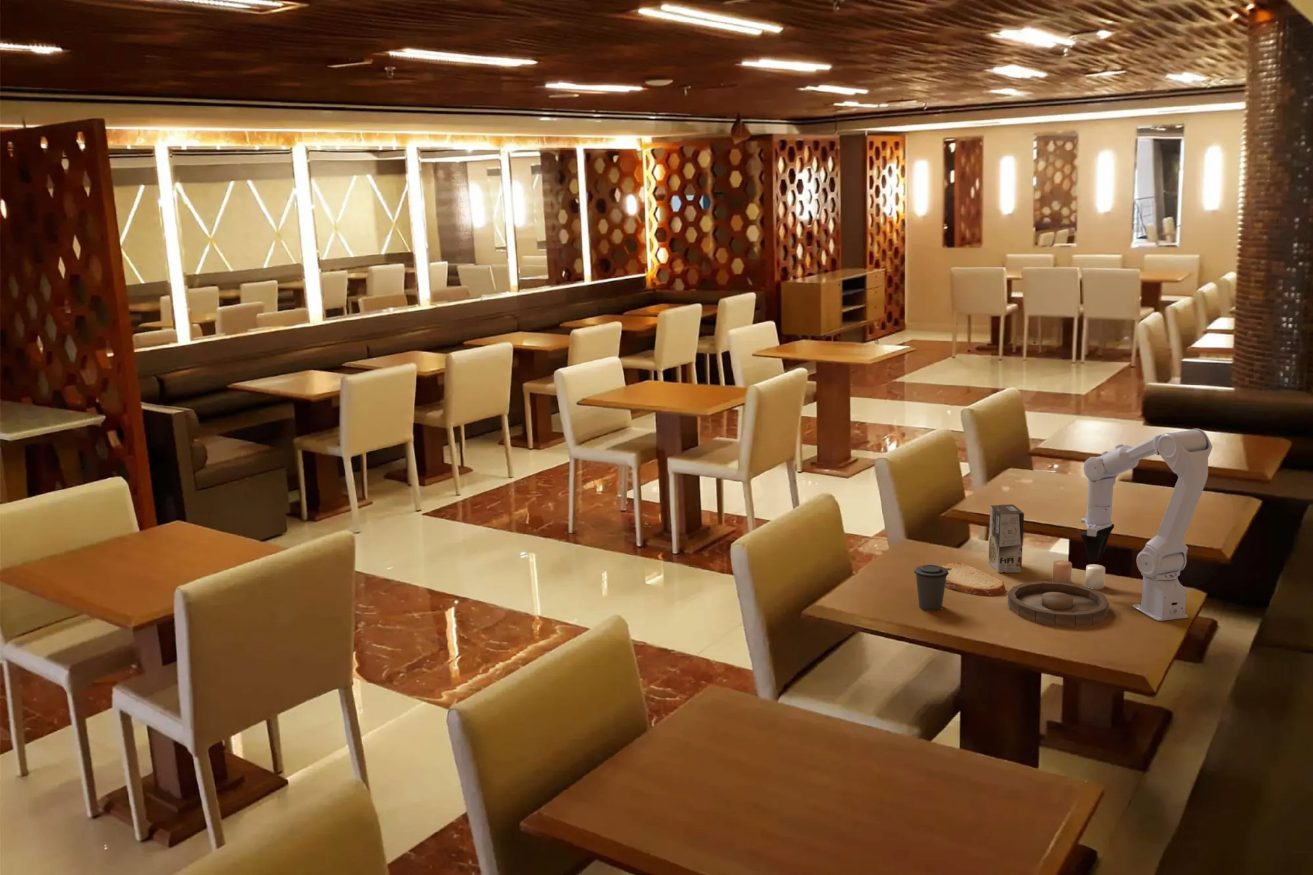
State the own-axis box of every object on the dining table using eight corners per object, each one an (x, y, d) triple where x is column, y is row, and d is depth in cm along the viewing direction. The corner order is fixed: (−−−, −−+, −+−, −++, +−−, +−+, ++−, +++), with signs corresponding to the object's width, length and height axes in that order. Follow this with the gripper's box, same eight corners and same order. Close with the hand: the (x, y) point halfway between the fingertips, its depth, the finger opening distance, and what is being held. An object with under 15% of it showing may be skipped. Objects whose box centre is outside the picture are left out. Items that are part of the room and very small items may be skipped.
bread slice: (1008, 597, 262) (1009, 583, 261) (933, 595, 265) (934, 581, 264) (998, 573, 279) (998, 559, 278) (927, 571, 282) (928, 557, 281)
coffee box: (1022, 572, 278) (1025, 513, 274) (997, 573, 278) (999, 513, 274) (1011, 561, 287) (1014, 503, 283) (987, 561, 287) (989, 504, 283)
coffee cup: (948, 613, 252) (950, 573, 250) (913, 612, 253) (914, 572, 251) (946, 601, 259) (947, 562, 257) (912, 600, 261) (913, 561, 259)
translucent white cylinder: (1107, 588, 265) (1109, 569, 264) (1091, 590, 264) (1092, 570, 263) (1097, 582, 269) (1098, 563, 268) (1081, 584, 268) (1082, 565, 267)
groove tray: (1127, 620, 244) (1127, 609, 244) (1039, 630, 240) (1040, 618, 240) (1072, 588, 265) (1073, 577, 265) (991, 596, 261) (991, 586, 261)
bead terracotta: (1074, 583, 268) (1075, 565, 267) (1058, 585, 268) (1059, 566, 267) (1064, 578, 273) (1065, 559, 272) (1049, 579, 272) (1049, 561, 271)
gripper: (1089, 494, 270) (1086, 545, 273) (1075, 508, 258) (1072, 562, 261) (1118, 498, 266) (1115, 550, 269) (1106, 512, 254) (1102, 566, 257)
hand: (1096, 556), depth 265 cm, fingers open, 7 cm apart
